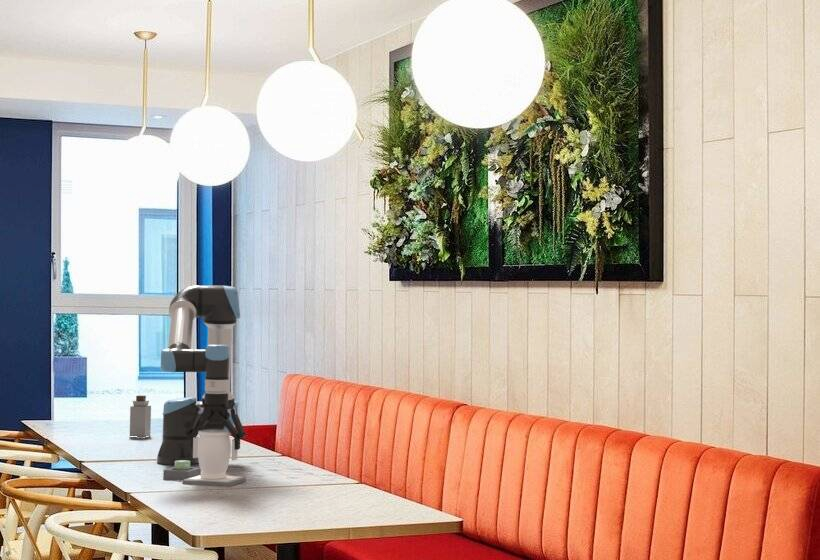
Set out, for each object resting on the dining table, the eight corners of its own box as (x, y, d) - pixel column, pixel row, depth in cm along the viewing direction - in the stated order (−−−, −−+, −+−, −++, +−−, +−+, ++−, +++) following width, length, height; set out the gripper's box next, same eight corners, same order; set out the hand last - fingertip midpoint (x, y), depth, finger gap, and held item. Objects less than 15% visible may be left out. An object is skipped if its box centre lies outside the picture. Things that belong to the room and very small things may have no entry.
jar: (190, 478, 356) (192, 431, 356) (206, 474, 366) (208, 428, 366) (220, 481, 352) (221, 433, 353) (235, 476, 362) (237, 430, 363)
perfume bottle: (135, 436, 488) (136, 395, 488) (150, 436, 487) (151, 395, 487) (129, 437, 481) (130, 396, 482) (144, 438, 480) (145, 396, 481)
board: (182, 483, 355) (182, 479, 355) (200, 478, 367) (200, 473, 367) (228, 486, 350) (228, 482, 350) (245, 481, 363) (245, 476, 363)
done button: (171, 471, 366) (172, 461, 366) (179, 469, 370) (179, 459, 371) (185, 472, 364) (185, 462, 364) (192, 470, 369) (192, 460, 369)
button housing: (163, 479, 364) (163, 469, 364) (176, 475, 373) (176, 466, 373) (188, 480, 362) (188, 471, 362) (200, 476, 370) (201, 467, 371)
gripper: (176, 391, 359) (174, 457, 359) (247, 394, 353) (245, 462, 352) (186, 390, 367) (185, 455, 366) (257, 393, 360) (255, 459, 359)
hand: (215, 458), depth 359 cm, fingers open, 13 cm apart
